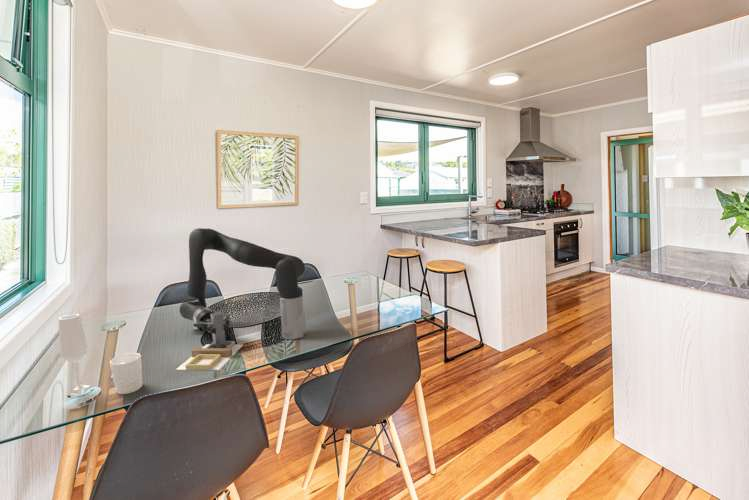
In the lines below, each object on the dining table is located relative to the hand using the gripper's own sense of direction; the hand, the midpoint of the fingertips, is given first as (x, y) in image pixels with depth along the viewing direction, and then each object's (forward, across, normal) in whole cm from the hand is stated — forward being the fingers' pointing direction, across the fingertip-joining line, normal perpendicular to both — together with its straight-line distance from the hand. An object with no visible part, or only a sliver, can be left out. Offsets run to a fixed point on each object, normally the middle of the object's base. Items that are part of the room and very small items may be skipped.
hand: (220, 329), depth 133 cm
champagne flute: (-4, -41, +10) cm, 43 cm away
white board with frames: (+1, -4, +10) cm, 10 cm away
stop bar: (-3, 0, +8) cm, 9 cm away
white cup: (+5, -30, +10) cm, 32 cm away
